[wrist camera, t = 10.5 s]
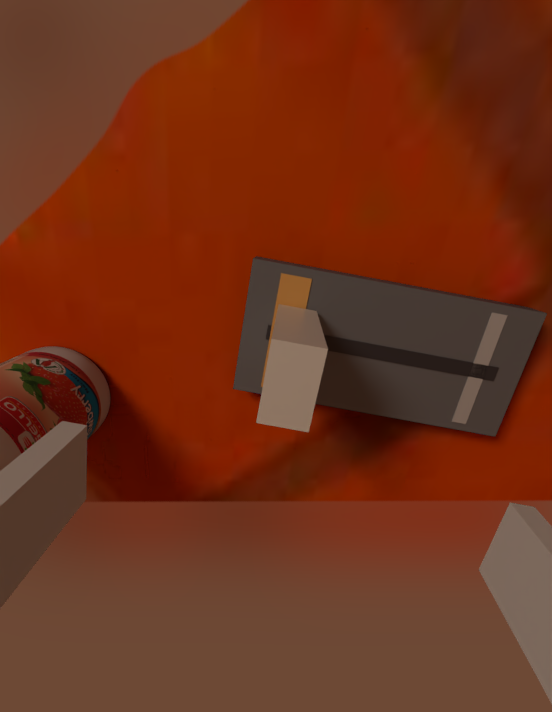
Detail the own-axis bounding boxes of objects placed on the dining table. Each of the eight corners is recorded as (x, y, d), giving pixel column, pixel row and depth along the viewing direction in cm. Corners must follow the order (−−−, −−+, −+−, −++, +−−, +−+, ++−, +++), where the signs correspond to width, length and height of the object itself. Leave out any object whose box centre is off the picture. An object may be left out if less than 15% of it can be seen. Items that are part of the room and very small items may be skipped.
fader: (316, 311, 29) (328, 349, 19) (303, 370, 30) (308, 432, 21) (278, 304, 29) (271, 338, 19) (267, 363, 30) (256, 422, 21)
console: (527, 307, 31) (547, 313, 29) (481, 422, 34) (495, 437, 32) (256, 256, 31) (253, 258, 28) (237, 378, 34) (232, 389, 32)
